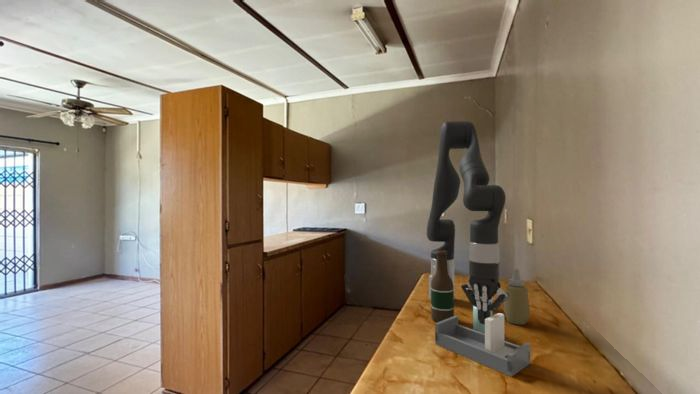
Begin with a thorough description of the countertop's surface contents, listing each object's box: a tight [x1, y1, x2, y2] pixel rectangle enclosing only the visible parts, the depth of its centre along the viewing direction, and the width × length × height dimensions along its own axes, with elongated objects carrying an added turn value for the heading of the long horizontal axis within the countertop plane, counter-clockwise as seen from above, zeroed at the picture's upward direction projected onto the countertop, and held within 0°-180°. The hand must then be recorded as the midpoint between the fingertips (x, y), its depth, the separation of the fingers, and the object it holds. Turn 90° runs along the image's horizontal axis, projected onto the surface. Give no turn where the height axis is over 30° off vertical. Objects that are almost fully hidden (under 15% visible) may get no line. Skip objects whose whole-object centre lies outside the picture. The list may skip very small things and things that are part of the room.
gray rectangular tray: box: [434, 314, 531, 378], centre depth 89 cm, size 22×10×6 cm, turn 38°
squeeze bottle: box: [503, 268, 531, 326], centre depth 111 cm, size 8×8×18 cm
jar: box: [472, 305, 493, 334], centre depth 101 cm, size 6×6×10 cm
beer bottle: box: [430, 250, 455, 323], centre depth 113 cm, size 8×8×24 cm
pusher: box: [485, 312, 515, 358], centre depth 84 cm, size 4×7×10 cm, turn 128°
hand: (484, 323), depth 88 cm, fingers closed
